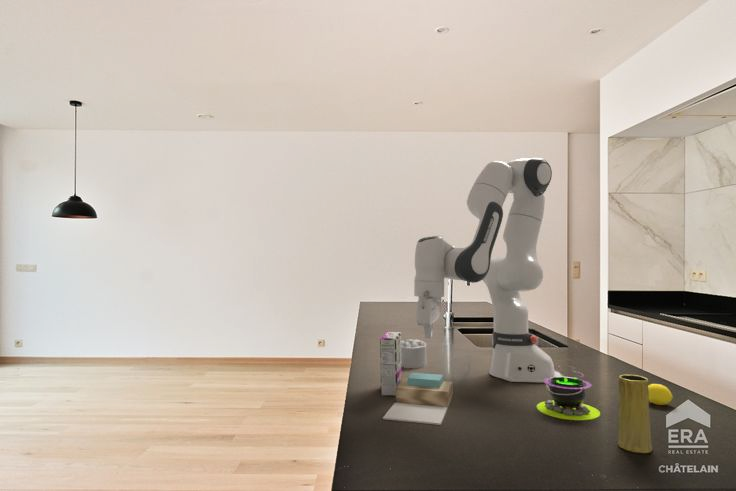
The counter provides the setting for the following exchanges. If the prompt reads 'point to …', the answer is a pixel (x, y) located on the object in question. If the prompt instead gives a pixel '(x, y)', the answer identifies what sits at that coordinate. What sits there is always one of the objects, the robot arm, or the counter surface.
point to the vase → (634, 414)
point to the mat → (416, 413)
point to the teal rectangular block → (425, 380)
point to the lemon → (659, 394)
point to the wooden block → (424, 394)
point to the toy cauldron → (567, 399)
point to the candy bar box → (390, 362)
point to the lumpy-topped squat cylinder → (413, 353)
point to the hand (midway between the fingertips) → (428, 337)
